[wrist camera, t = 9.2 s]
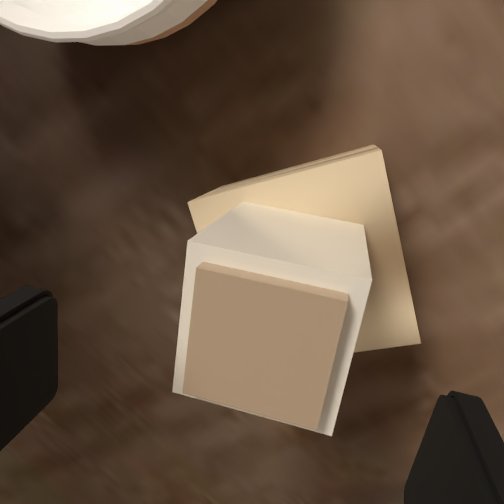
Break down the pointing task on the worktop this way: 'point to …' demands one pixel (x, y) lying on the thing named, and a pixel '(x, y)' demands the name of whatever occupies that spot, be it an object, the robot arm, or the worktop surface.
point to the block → (346, 209)
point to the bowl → (100, 19)
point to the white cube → (272, 314)
